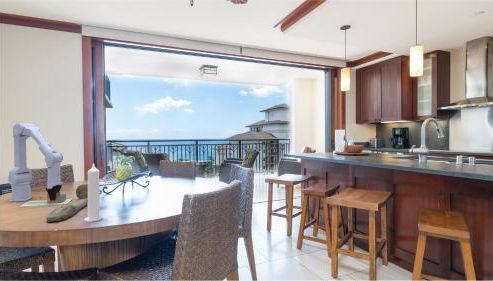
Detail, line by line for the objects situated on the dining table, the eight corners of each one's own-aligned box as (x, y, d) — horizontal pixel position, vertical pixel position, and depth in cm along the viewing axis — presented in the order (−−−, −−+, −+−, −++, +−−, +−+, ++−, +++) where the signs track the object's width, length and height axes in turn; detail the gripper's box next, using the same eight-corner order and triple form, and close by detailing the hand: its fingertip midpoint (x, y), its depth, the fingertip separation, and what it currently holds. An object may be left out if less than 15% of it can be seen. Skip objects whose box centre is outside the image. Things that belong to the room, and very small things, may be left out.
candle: (89, 217, 123) (89, 162, 123) (105, 217, 124) (105, 162, 123) (81, 222, 116) (81, 163, 116) (98, 221, 117) (98, 163, 116)
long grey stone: (93, 205, 150) (73, 207, 147) (93, 196, 150) (73, 197, 147) (66, 221, 115) (39, 224, 113) (65, 209, 116) (39, 211, 113)
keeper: (49, 200, 150) (49, 192, 150) (60, 200, 151) (60, 192, 151) (47, 202, 146) (47, 194, 146) (58, 201, 148) (58, 193, 148)
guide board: (29, 202, 150) (29, 194, 150) (73, 199, 157) (73, 192, 157) (19, 207, 139) (19, 199, 138) (67, 204, 146) (67, 196, 146)
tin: (79, 200, 155) (79, 185, 155) (74, 200, 156) (74, 185, 156) (98, 194, 170) (98, 181, 170) (94, 194, 171) (94, 181, 170)
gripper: (58, 176, 143) (58, 202, 143) (66, 172, 157) (66, 196, 157) (42, 176, 141) (42, 203, 141) (51, 173, 154) (52, 197, 154)
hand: (54, 199), depth 149 cm, fingers closed on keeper, 4 cm apart
